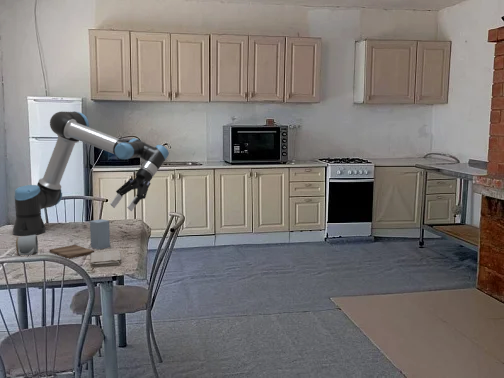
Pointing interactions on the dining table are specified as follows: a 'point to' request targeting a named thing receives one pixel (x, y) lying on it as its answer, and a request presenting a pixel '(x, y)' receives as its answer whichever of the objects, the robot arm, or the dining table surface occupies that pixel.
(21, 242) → the ceramic mug
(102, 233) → the slate block
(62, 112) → the robot arm
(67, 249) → the walnut board
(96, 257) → the washcloth
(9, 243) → the dining table surface
